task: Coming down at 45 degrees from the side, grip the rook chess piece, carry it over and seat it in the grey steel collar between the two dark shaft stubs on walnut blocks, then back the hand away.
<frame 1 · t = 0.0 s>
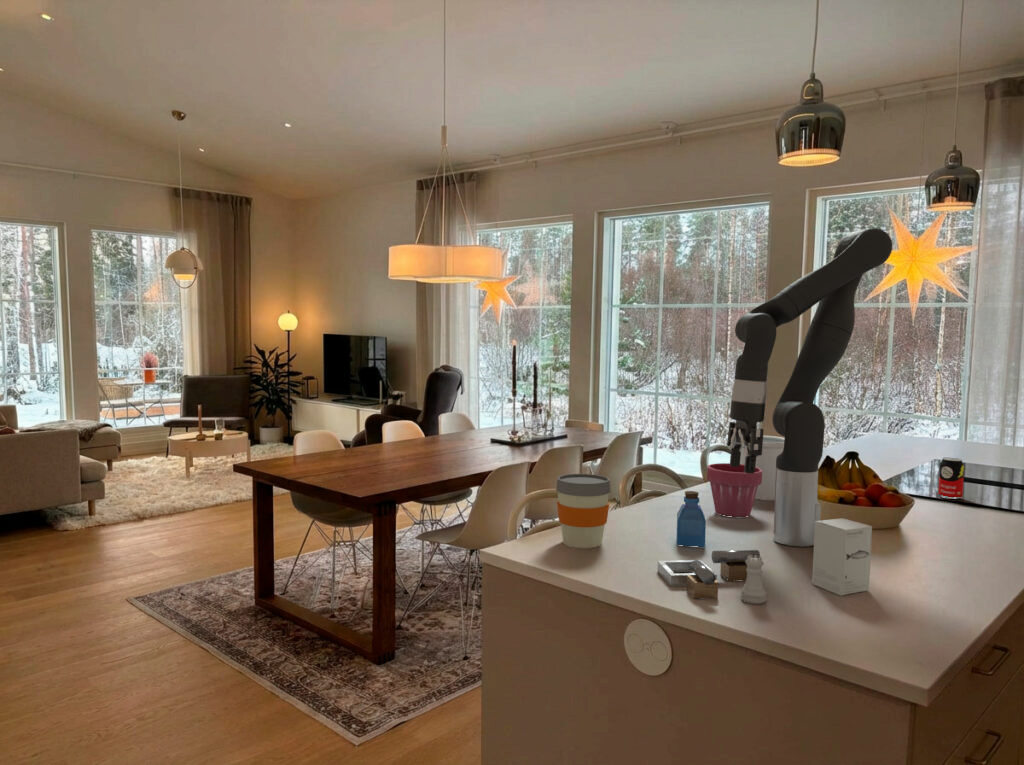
hand: (741, 469, 169), 17 cm above the counter, tool pointing down, fingers open, 8 cm apart
rook chess piece: (753, 601, 132), on the counter
reusable coffee cup: (582, 543, 169), on the counter
plant pot: (733, 514, 197), on the counter
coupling: (686, 578, 144), on the counter
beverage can: (950, 498, 220), on the counter
supplement box: (840, 588, 140), on the counter
utensil holder: (762, 496, 221), on the counter
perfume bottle: (690, 544, 169), on the counter
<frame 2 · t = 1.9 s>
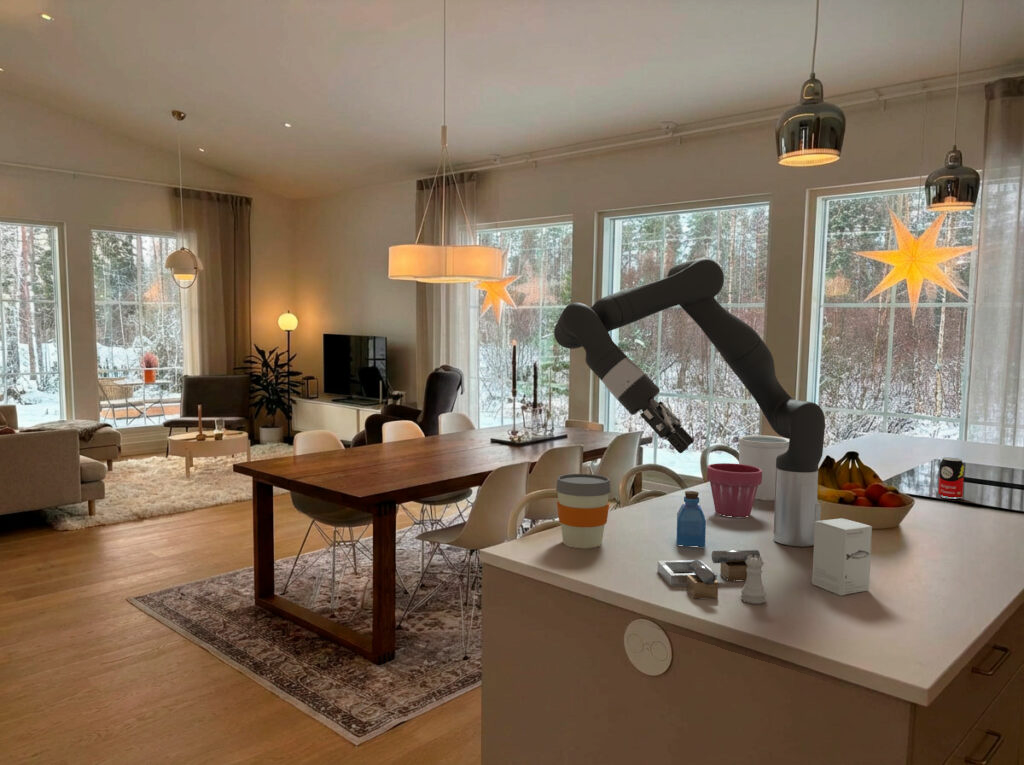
hand: (687, 447, 141), 26 cm above the counter, tool tilted 45°, fingers open, 8 cm apart
nothing on the counter moved.
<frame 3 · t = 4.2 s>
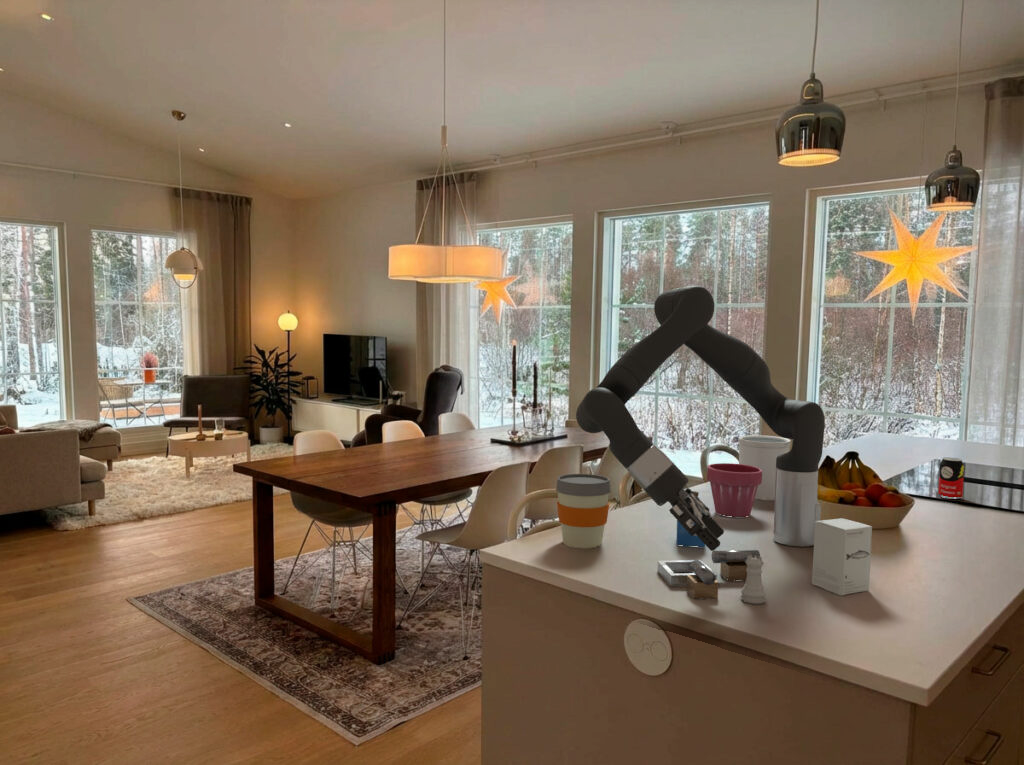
hand: (718, 541, 133), 10 cm above the counter, tool tilted 45°, fingers open, 8 cm apart
nothing on the counter moved.
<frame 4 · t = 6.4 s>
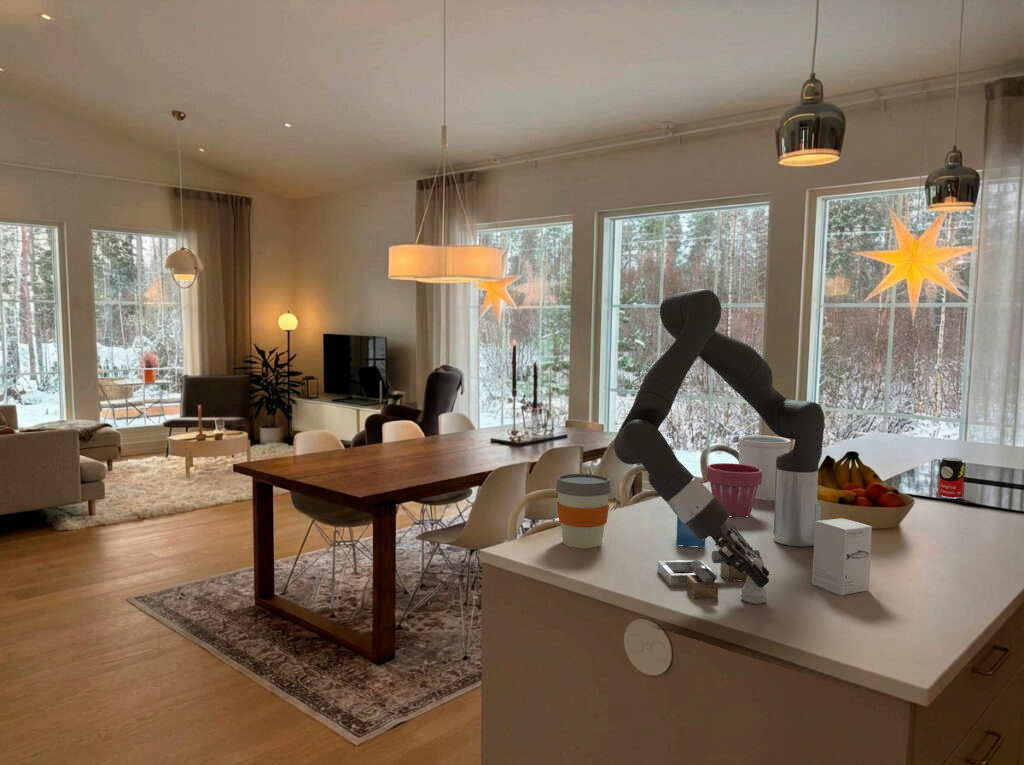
hand: (765, 580, 131), 4 cm above the counter, tool tilted 45°, fingers closed on rook chess piece, 3 cm apart
rook chess piece: (753, 600, 132), on the counter, touching gripper
everything else where it was.
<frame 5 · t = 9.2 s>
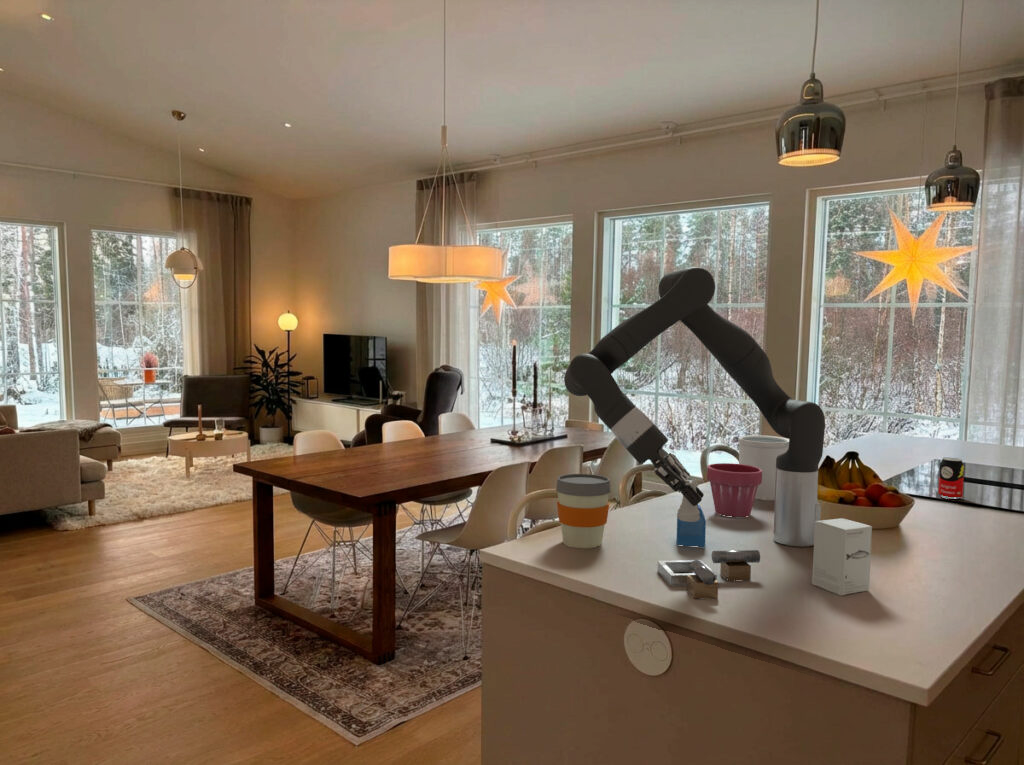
hand: (699, 500, 142), 16 cm above the counter, tool tilted 45°, fingers closed on rook chess piece, 3 cm apart
rook chess piece: (688, 520, 144), point 12 cm above the counter, touching gripper
everything else where it was.
when the fingers open (6 cm above the counter, at t = 11.9 s): rook chess piece drops 2 cm, resting in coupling.
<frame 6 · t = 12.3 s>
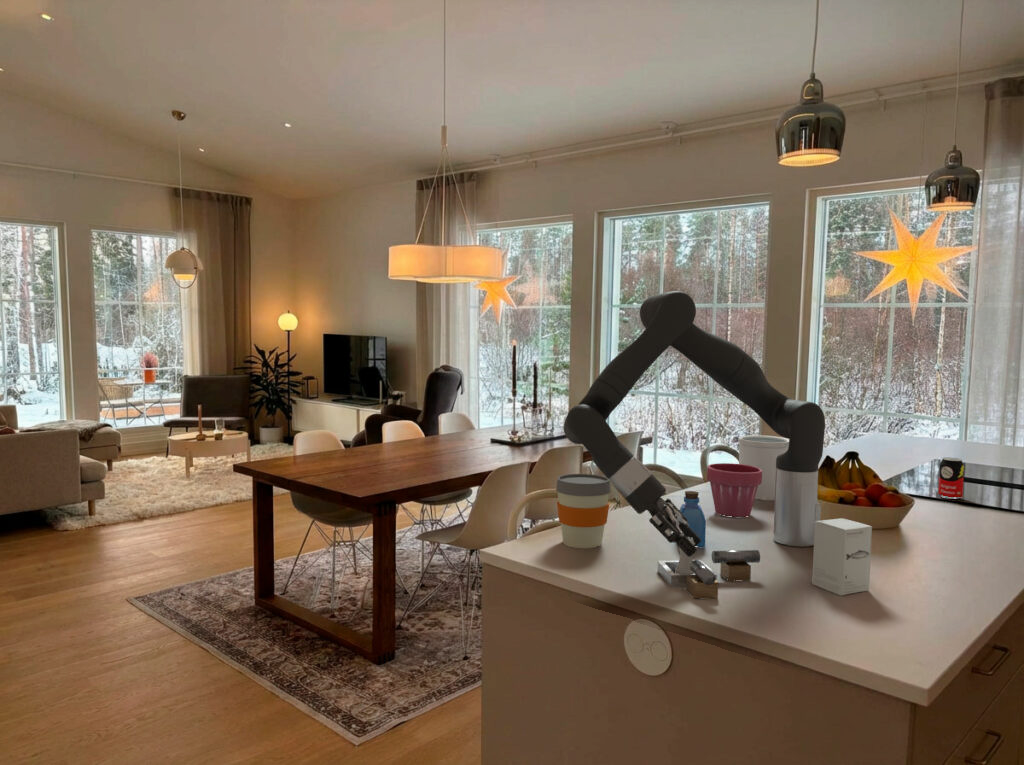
hand: (695, 548, 143), 6 cm above the counter, tool tilted 45°, fingers open, 6 cm apart
rook chess piece: (685, 579, 144), resting in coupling
everything else where it was.
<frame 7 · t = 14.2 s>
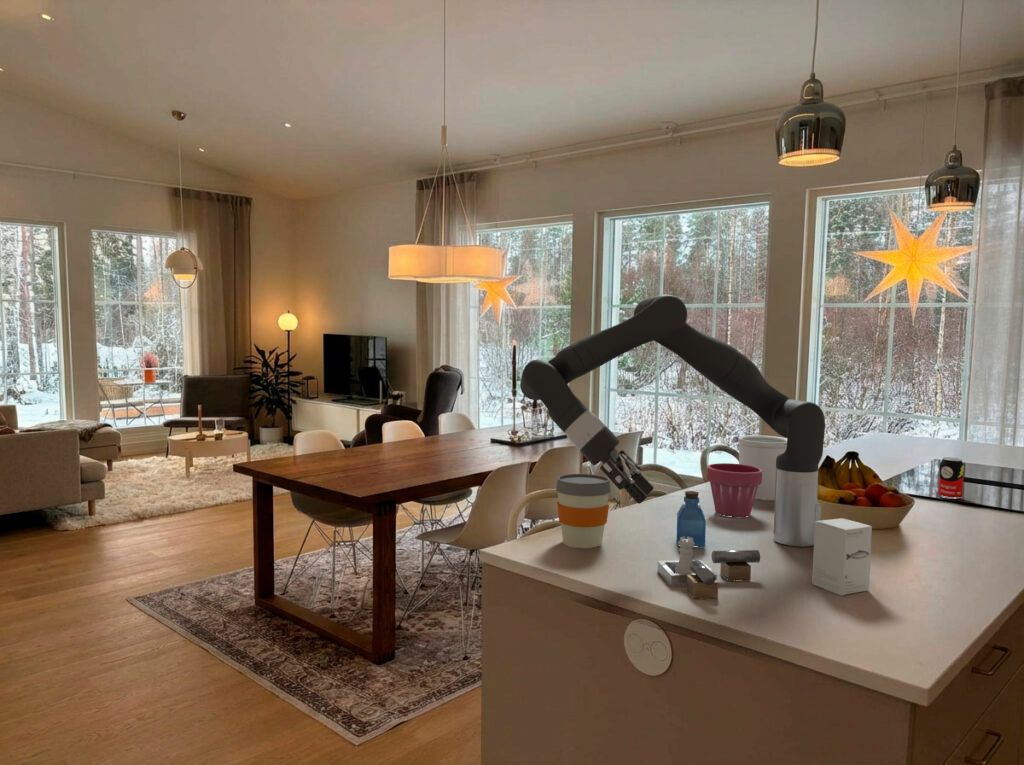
hand: (647, 496, 147), 16 cm above the counter, tool tilted 45°, fingers open, 8 cm apart
nothing on the counter moved.
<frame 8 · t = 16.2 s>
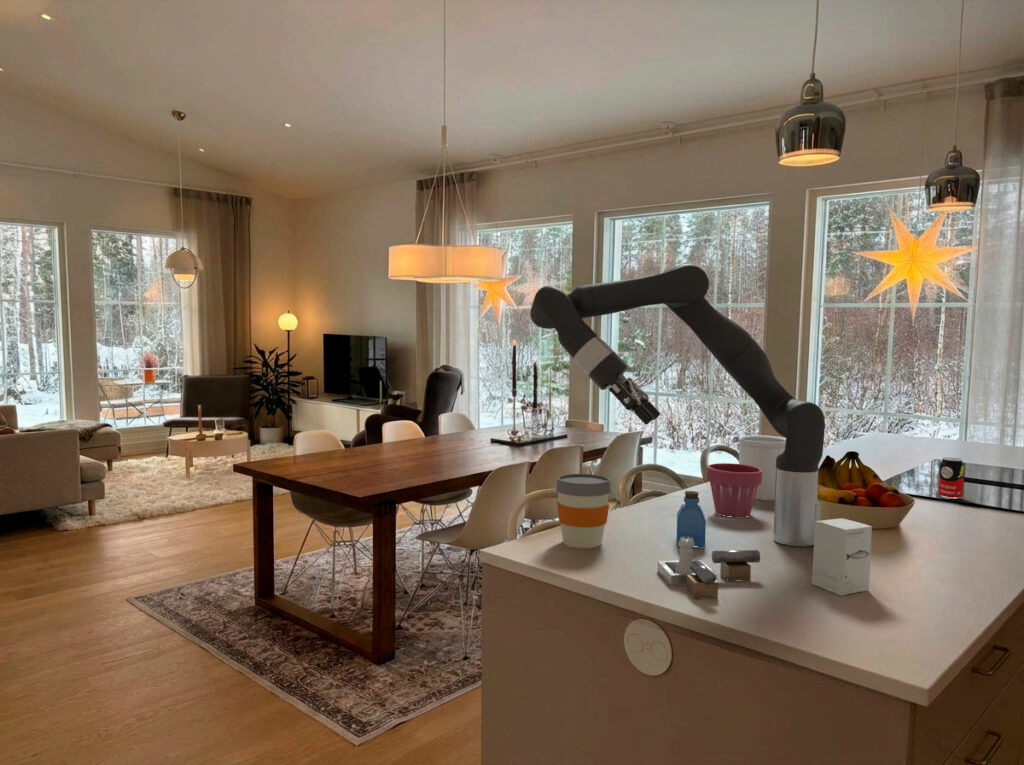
hand: (653, 419, 150), 31 cm above the counter, tool tilted 45°, fingers open, 8 cm apart
nothing on the counter moved.
at the end: rook chess piece 0.2 cm off-centre on the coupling, point 0.0 cm above the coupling's base; rook chess piece tilted 0°; the gripper is holding nothing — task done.
